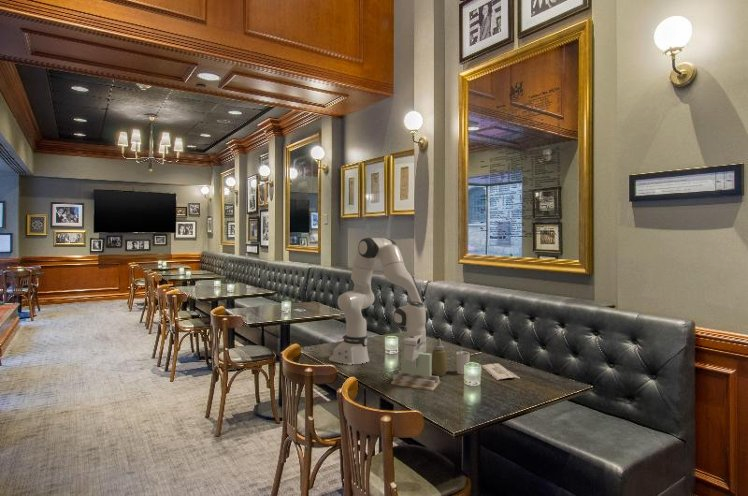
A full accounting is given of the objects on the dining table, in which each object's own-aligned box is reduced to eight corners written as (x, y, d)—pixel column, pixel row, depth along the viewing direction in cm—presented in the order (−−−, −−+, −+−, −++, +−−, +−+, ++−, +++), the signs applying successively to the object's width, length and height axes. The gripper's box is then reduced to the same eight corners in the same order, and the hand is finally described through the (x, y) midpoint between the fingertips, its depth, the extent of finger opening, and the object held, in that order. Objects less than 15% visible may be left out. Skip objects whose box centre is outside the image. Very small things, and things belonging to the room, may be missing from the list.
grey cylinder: (463, 375, 218) (463, 355, 218) (453, 372, 224) (453, 352, 223) (472, 373, 222) (472, 353, 222) (462, 369, 227) (462, 350, 227)
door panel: (401, 372, 209) (401, 351, 208) (403, 370, 211) (403, 350, 211) (429, 376, 203) (429, 355, 202) (431, 374, 205) (431, 353, 205)
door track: (391, 384, 206) (391, 376, 206) (400, 376, 217) (400, 369, 217) (432, 390, 197) (432, 383, 197) (440, 382, 208) (440, 375, 208)
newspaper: (521, 381, 213) (521, 375, 213) (497, 384, 211) (497, 379, 211) (502, 366, 235) (502, 361, 235) (480, 369, 234) (480, 364, 234)
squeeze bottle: (449, 373, 221) (449, 338, 221) (443, 378, 214) (443, 341, 214) (434, 371, 225) (434, 336, 225) (428, 375, 218) (428, 339, 218)
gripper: (417, 331, 217) (417, 359, 218) (401, 340, 199) (401, 371, 199) (429, 332, 214) (429, 361, 215) (415, 342, 196) (415, 373, 196)
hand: (416, 366), depth 207 cm, fingers closed on door panel, 3 cm apart
